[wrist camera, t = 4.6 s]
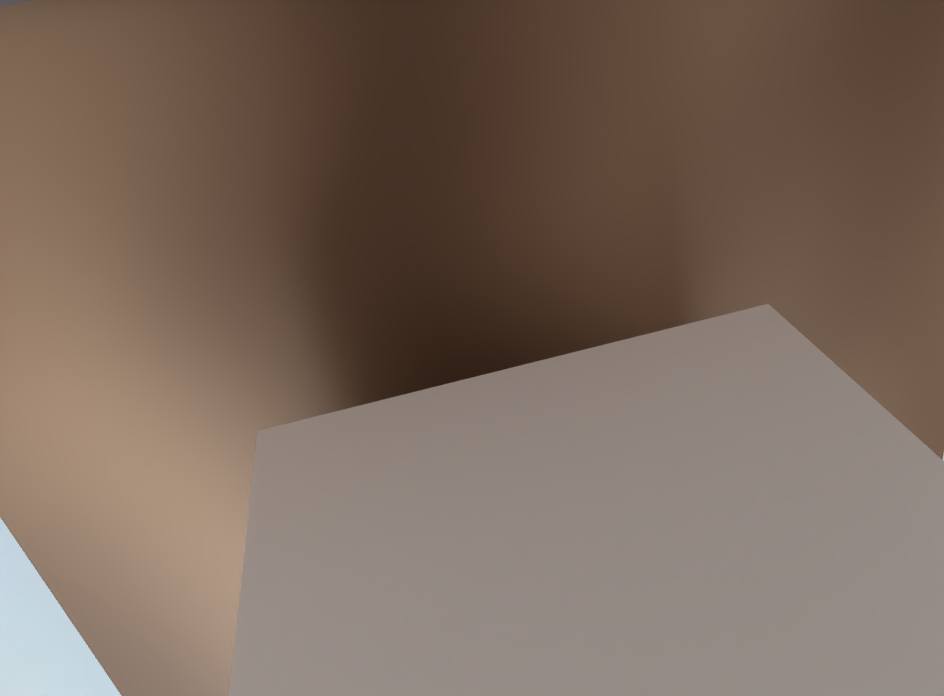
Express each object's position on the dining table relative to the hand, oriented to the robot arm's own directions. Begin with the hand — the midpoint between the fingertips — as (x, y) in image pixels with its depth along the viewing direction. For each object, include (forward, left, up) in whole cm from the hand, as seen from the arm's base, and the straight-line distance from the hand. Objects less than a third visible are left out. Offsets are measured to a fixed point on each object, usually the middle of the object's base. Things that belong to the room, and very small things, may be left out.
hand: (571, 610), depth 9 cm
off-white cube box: (0, 0, -1) cm, 1 cm away
